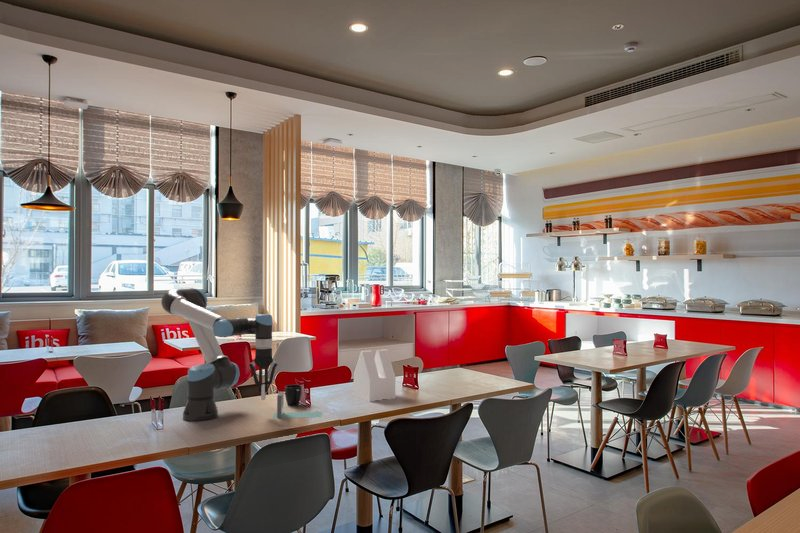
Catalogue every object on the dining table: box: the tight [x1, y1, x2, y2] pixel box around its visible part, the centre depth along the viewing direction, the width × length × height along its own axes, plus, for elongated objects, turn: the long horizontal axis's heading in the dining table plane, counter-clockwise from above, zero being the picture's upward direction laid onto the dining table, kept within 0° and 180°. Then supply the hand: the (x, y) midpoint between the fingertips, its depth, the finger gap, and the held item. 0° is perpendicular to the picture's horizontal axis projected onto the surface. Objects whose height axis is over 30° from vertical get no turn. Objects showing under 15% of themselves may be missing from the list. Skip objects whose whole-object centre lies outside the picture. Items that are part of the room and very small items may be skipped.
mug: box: [284, 384, 303, 407], centre depth 274 cm, size 8×12×10 cm
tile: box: [276, 391, 285, 419], centre depth 253 cm, size 2×9×10 cm, turn 6°
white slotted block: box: [352, 348, 396, 402], centre depth 297 cm, size 19×15×25 cm
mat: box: [272, 411, 323, 419], centre depth 254 cm, size 22×10×1 cm, turn 97°
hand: (263, 399), depth 253 cm, fingers closed
